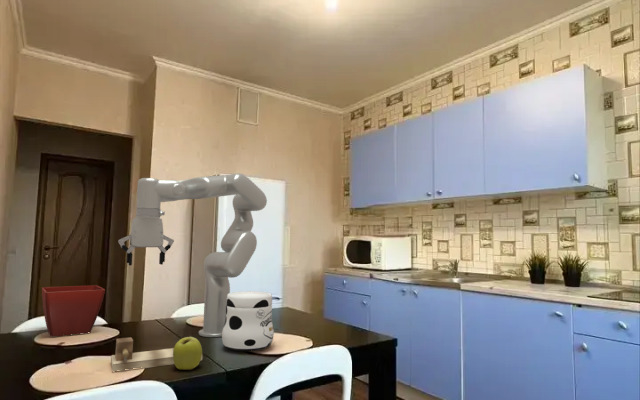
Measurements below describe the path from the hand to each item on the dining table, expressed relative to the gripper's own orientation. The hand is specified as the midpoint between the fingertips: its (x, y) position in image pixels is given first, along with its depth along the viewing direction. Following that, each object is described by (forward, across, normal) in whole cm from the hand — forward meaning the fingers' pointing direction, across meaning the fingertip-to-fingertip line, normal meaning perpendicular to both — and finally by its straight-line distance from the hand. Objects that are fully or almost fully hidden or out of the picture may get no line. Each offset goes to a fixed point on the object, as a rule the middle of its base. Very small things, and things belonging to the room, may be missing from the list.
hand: (145, 264), depth 131 cm
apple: (+28, -8, +27) cm, 40 cm away
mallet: (+25, +7, +18) cm, 32 cm away
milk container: (+28, -31, +15) cm, 45 cm away
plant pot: (+28, +21, -38) cm, 51 cm away
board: (+28, -2, +17) cm, 32 cm away
